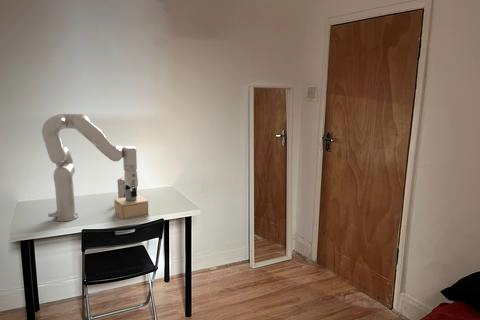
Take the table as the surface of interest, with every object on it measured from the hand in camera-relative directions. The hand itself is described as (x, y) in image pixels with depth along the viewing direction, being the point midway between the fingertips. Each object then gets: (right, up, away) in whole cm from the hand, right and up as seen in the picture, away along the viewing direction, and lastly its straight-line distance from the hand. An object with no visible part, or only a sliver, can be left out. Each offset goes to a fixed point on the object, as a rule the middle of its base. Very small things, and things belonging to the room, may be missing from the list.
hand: (131, 194), depth 224 cm
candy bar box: (-11, -7, +26) cm, 29 cm away
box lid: (0, -4, +1) cm, 4 cm away
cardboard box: (0, -12, +3) cm, 12 cm away
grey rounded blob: (0, -3, +1) cm, 3 cm away
